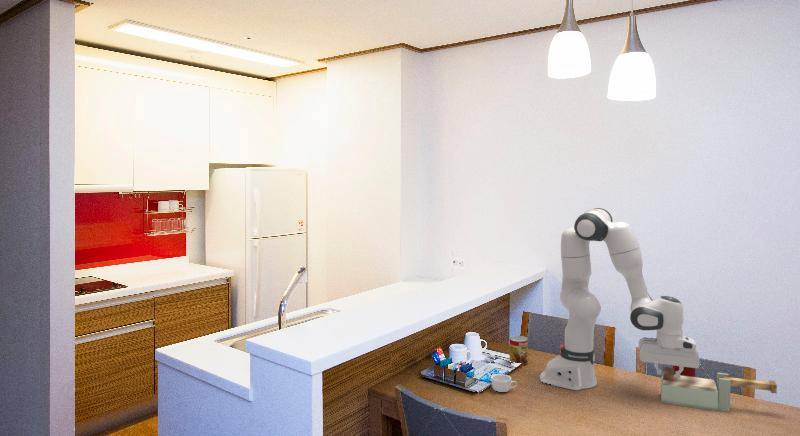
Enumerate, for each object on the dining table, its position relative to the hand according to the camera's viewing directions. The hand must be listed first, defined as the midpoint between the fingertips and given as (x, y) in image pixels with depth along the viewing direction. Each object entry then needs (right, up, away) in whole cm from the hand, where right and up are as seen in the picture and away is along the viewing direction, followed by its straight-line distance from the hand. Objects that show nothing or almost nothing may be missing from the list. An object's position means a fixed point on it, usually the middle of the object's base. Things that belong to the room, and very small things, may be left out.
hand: (668, 375), depth 204 cm
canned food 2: (+13, -8, +14) cm, 21 cm away
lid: (+6, -2, -3) cm, 7 cm away
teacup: (-60, -10, +11) cm, 61 cm away
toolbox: (+8, -9, -3) cm, 13 cm away
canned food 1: (-48, -7, +40) cm, 62 cm away
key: (+24, -1, -11) cm, 26 cm away
